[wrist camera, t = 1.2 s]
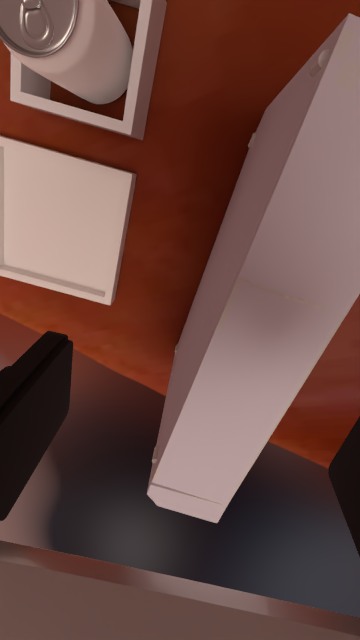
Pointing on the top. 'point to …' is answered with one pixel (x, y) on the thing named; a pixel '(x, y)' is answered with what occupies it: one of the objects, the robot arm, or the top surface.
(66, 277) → the tray
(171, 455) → the game console
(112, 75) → the can
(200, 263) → the top surface
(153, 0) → the white square frame
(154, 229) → the top surface
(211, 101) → the top surface
